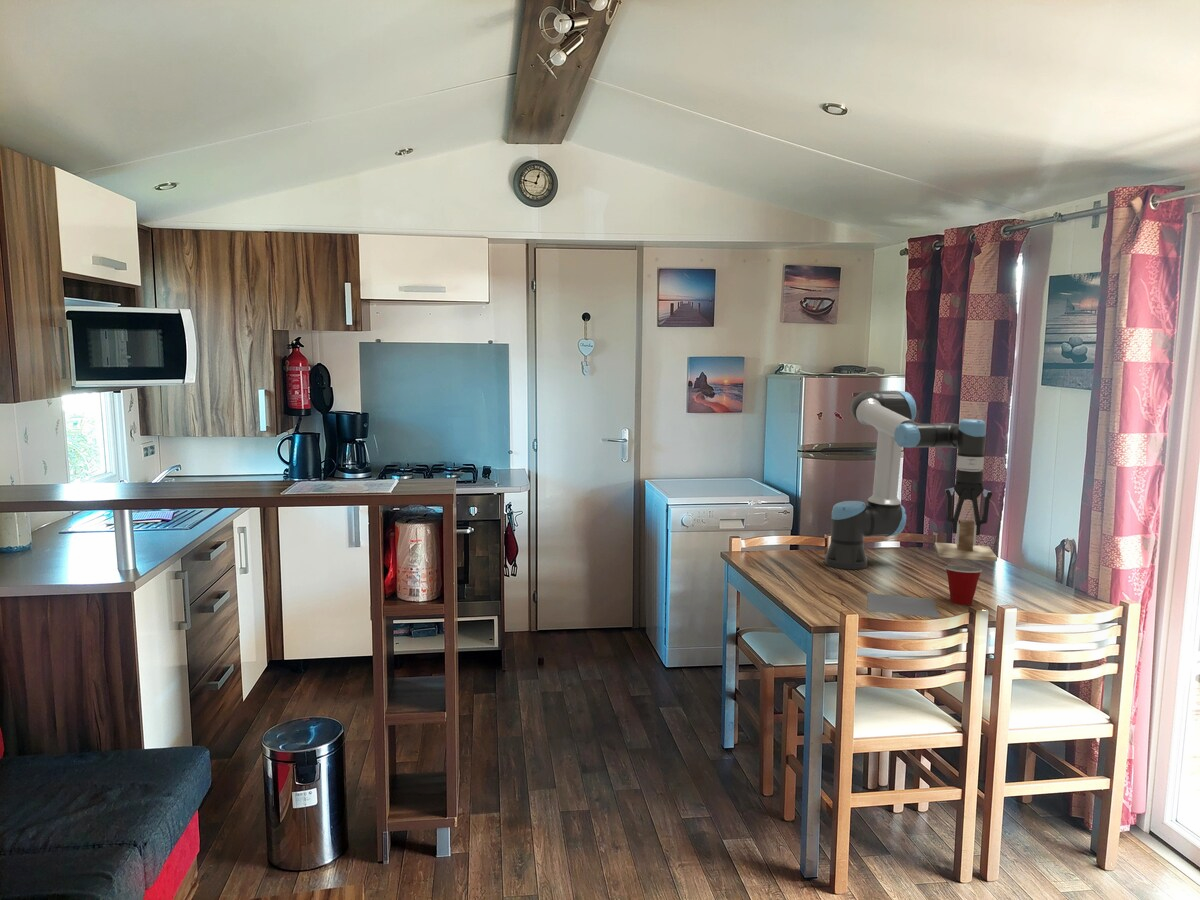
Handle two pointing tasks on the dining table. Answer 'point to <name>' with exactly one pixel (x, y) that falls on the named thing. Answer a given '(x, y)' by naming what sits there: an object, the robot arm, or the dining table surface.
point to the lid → (965, 545)
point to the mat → (902, 605)
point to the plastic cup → (962, 583)
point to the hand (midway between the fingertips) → (965, 544)
